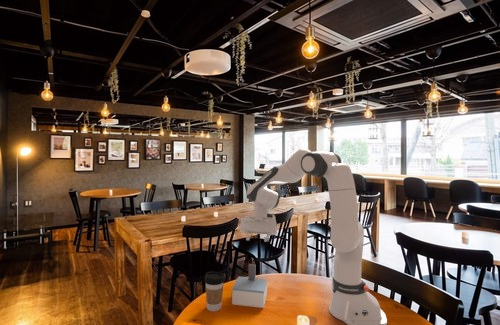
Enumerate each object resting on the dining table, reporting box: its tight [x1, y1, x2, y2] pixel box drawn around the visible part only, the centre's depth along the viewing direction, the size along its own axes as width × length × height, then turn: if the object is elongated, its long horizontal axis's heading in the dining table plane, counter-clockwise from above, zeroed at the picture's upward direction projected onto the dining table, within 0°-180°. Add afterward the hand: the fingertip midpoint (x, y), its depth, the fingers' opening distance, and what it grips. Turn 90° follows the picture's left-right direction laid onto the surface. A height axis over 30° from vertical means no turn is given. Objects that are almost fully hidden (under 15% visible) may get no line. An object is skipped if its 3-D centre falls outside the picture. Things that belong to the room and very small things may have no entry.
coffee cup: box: [204, 271, 225, 312], centre depth 115 cm, size 8×8×15 cm
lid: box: [231, 263, 268, 293], centre depth 123 cm, size 14×12×9 cm
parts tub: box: [231, 282, 268, 309], centre depth 123 cm, size 14×12×7 cm
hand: (256, 240), depth 139 cm, fingers open, 8 cm apart
